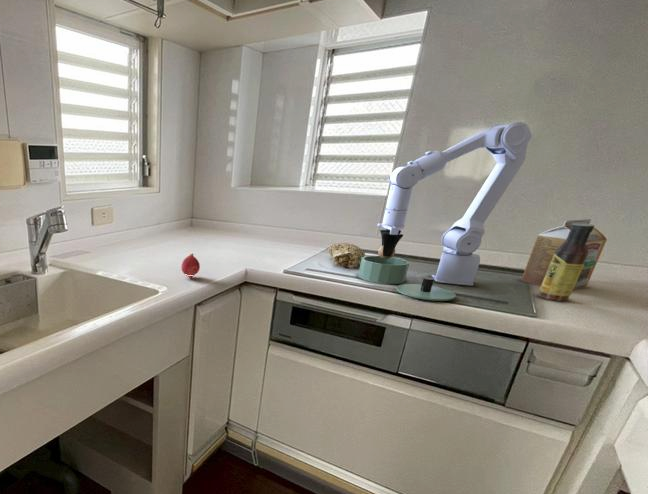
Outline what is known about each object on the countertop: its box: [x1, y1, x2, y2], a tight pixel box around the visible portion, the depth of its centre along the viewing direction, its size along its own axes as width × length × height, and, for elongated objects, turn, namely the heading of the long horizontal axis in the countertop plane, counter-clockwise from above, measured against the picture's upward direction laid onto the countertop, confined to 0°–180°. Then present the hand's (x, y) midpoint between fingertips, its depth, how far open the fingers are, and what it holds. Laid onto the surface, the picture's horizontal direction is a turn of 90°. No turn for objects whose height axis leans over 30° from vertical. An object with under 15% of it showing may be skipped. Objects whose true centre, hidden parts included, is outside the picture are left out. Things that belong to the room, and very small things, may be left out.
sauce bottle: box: [538, 223, 595, 302], centre depth 105 cm, size 6×6×20 cm
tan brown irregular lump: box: [327, 242, 366, 269], centre depth 147 cm, size 13×8×20 cm
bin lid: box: [395, 276, 457, 302], centre depth 112 cm, size 14×14×5 cm
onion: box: [181, 252, 201, 279], centre depth 128 cm, size 6×6×8 cm
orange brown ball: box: [377, 245, 396, 259], centre depth 125 cm, size 5×5×5 cm
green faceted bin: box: [357, 255, 410, 285], centre depth 127 cm, size 13×13×6 cm
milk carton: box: [520, 218, 608, 290], centre depth 118 cm, size 11×11×19 cm
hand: (386, 254), depth 125 cm, fingers closed on orange brown ball, 4 cm apart
